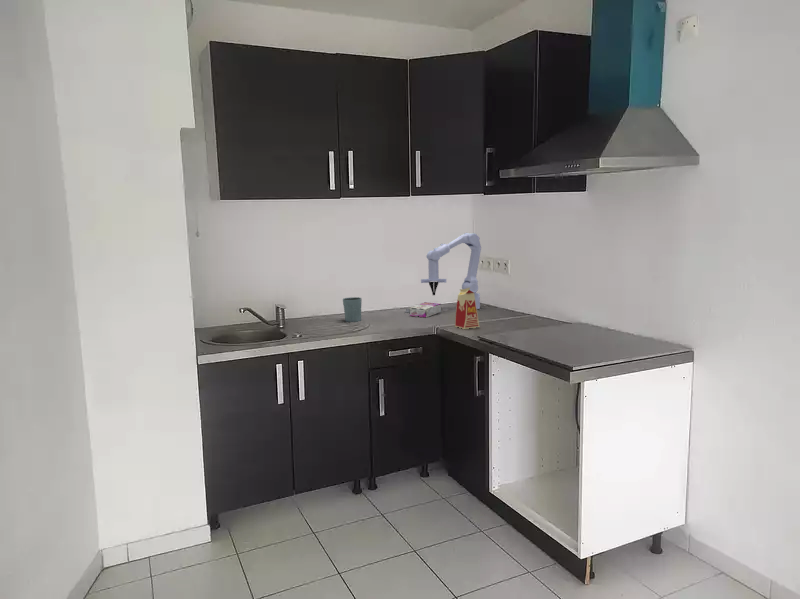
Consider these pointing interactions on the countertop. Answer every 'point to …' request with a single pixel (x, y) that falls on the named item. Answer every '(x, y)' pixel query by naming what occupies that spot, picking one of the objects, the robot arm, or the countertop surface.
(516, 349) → the countertop surface
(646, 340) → the countertop surface
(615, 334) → the countertop surface
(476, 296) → the robot arm
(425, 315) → the candy bar box
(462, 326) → the milk carton
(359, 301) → the teal cup
